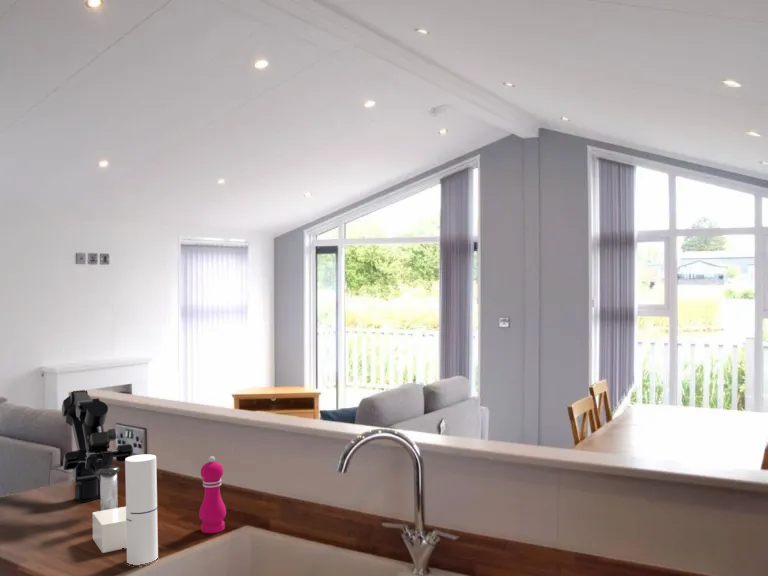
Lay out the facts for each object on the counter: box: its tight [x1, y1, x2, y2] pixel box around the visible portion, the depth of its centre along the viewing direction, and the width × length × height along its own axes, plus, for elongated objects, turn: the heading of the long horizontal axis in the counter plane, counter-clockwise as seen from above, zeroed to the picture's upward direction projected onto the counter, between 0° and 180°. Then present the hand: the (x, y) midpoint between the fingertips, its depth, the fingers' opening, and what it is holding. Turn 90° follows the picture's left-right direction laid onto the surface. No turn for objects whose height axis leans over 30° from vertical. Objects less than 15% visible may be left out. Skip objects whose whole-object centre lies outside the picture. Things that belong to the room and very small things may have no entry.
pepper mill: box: [198, 455, 227, 534], centre depth 191 cm, size 7×7×20 cm
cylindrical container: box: [124, 453, 159, 565], centre depth 170 cm, size 7×7×25 cm
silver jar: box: [98, 464, 120, 511], centre depth 192 cm, size 15×6×16 cm, turn 33°
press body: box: [91, 505, 127, 554], centre depth 184 cm, size 12×12×7 cm
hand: (103, 481), depth 202 cm, fingers closed
